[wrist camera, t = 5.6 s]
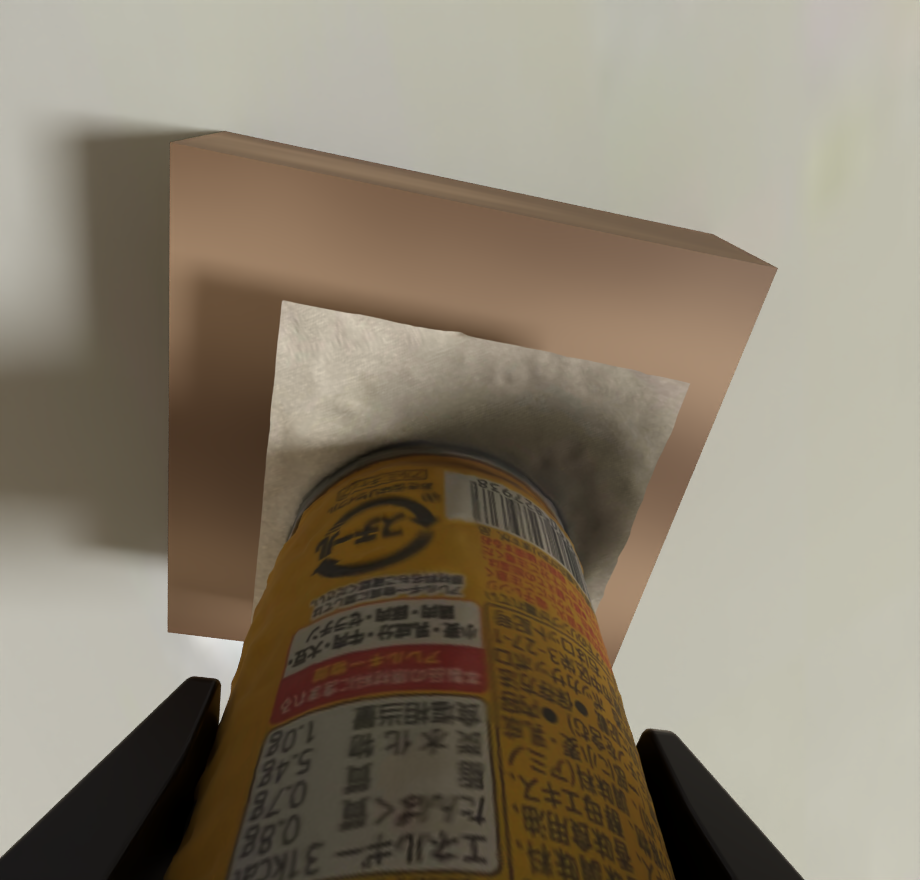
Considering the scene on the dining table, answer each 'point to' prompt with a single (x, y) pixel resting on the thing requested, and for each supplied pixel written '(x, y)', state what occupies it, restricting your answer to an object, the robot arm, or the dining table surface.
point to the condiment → (435, 618)
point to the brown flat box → (421, 305)
